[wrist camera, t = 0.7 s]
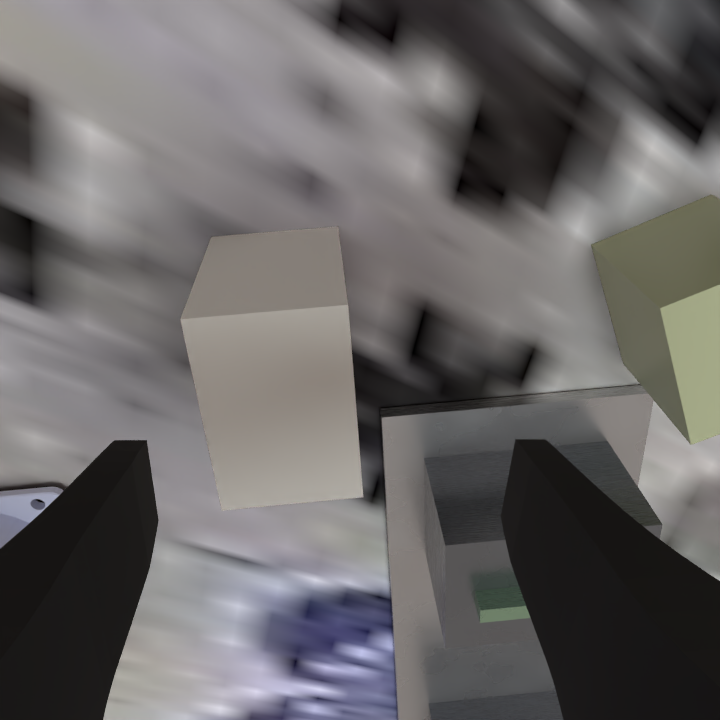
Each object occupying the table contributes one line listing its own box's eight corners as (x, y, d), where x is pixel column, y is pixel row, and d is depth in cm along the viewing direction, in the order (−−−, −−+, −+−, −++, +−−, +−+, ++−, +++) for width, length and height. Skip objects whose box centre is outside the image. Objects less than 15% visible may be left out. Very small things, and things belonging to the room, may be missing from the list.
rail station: (400, 774, 36) (416, 904, 31) (380, 408, 25) (399, 520, 20) (582, 755, 37) (626, 880, 32) (647, 384, 25) (735, 488, 20)
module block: (241, 405, 24) (224, 521, 19) (211, 236, 21) (180, 319, 16) (351, 395, 24) (364, 508, 19) (337, 225, 21) (348, 304, 16)
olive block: (622, 362, 25) (691, 444, 20) (590, 244, 22) (660, 308, 18) (731, 320, 24) (825, 395, 20) (710, 194, 22) (812, 247, 17)
